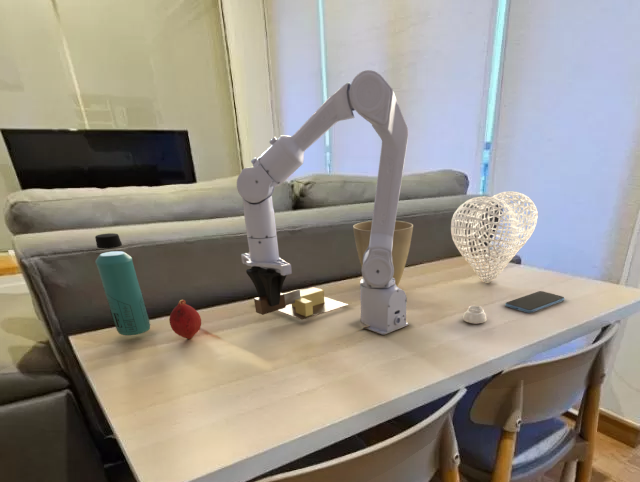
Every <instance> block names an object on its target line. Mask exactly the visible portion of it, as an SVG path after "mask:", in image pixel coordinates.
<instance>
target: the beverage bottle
mask: <svg viewBox="0 0 640 482" xmlns="http://www.w3.org/2000/svg"><path fill="white" fill-rule="evenodd" d="M94 239H95V243H96V248H97V249H115V248H119V247H122V246H123V243H122V241H121V237H120V235H119V234H118V233H113V232H110V233H109V232H108V233H100V234H96V235H95V236H94ZM95 265H96V267H97V271H98V274H99V277H100V280H101V284H102V289H103V291H104V294H105V296H106V302H107V304H108V307H109V312H110V315H111V318H112V322H113V325H114V327H115V328H114V329H115V330H116V331H117V333H118V334H119V335H121V336H135V335H136V336H137V335H141V334H145V333H146V332H148V331H149V330H151V325H152V323H151V321H150V318H149V313H148V308H147V307H146V303H145V300H144V296H143V295H144V294H143V292H142V288H141V286H140V284H139V280H138V277H137V272H136V269H135V265H134V261H133V257H132V256H131V255H130V254H128V253H126V252H125V251H123V250H122V251H121V250H119V251H118V250H115V251H114V250H113V251H106V252H103V253H99V255H98V256H97V258H96V259H95Z"/></svg>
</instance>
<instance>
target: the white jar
mask: <svg viewBox="0 0 640 482" xmlns="http://www.w3.org/2000/svg"><path fill="white" fill-rule="evenodd" d="M487 318H488V317H487V315H486V312H485V311H484V308H483V306H480V305H469V306H468V309H466V311H465V312H464V314H463V316H462V320H463V321H464V322H466V323H468V324H474V325H477V324H478V325H480V324H483V323H485V322H487Z"/></svg>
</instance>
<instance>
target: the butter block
mask: <svg viewBox="0 0 640 482" xmlns="http://www.w3.org/2000/svg"><path fill="white" fill-rule="evenodd" d="M301 290H302V291H300V296H301V298H304V299H307V300H310V301H312V306H315V305H318V304H321V303H325V301H324V297H325V290H324V289H321V288H317V287H316V286H314V287H309V288H305V289H301ZM292 306H293V307H295V303H293V304H292Z"/></svg>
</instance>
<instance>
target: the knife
mask: <svg viewBox="0 0 640 482" xmlns="http://www.w3.org/2000/svg"><path fill="white" fill-rule="evenodd" d="M299 298H301V296H300V289H295V290H292V291H288V292H285V293H282V292H281V296H280V303H279V304H278V305H275V306H270V305H269V302H268V299H267V295H265V296H261V297H259V296H258V297H254V298H253V301H254V308H255V313H257V314H259V315H263V316H264V315H267V314H270V313H273V312H276V311H277V310H280V309H283V308H286V305H289V304H293V303H295V300H296V299H299Z"/></svg>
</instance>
